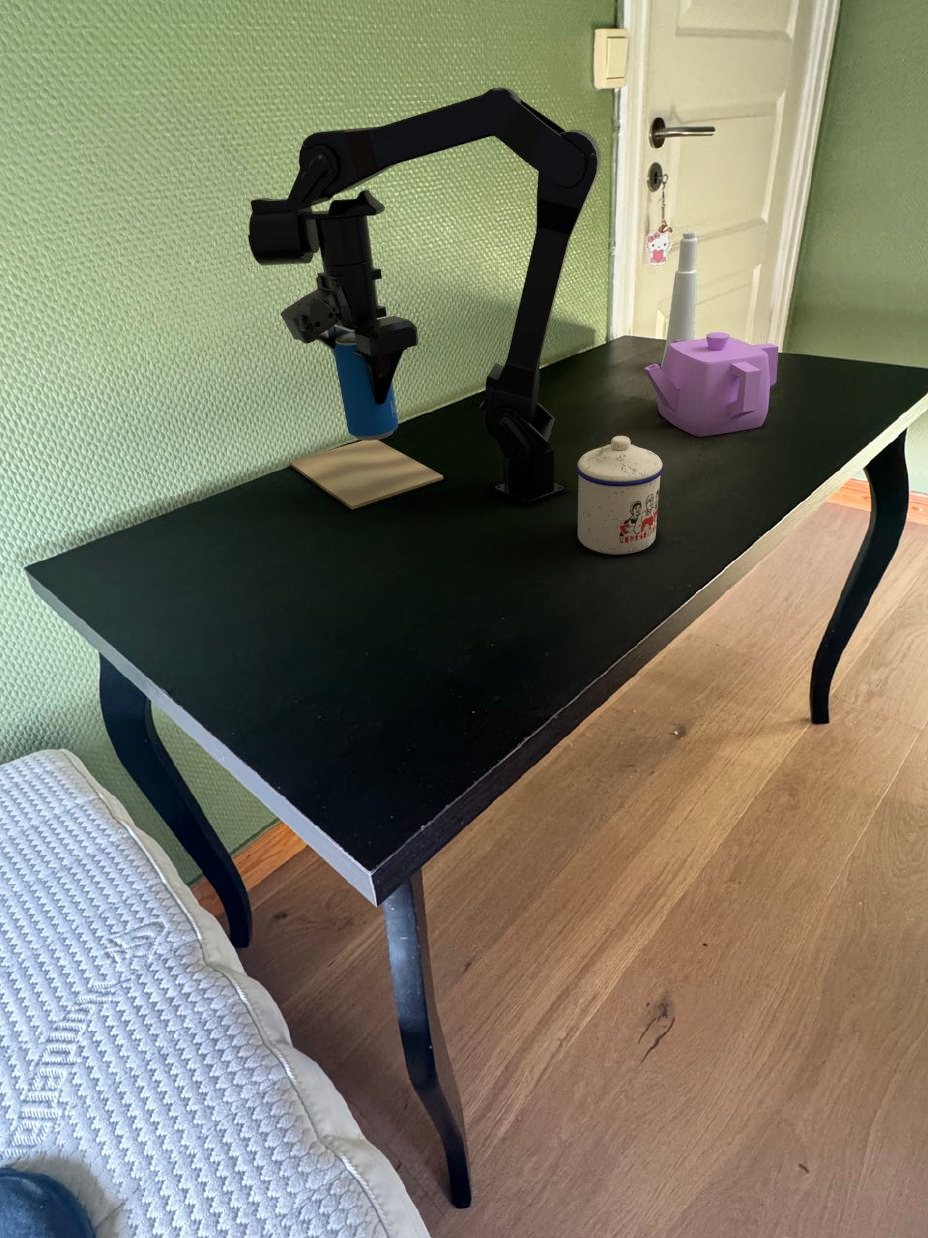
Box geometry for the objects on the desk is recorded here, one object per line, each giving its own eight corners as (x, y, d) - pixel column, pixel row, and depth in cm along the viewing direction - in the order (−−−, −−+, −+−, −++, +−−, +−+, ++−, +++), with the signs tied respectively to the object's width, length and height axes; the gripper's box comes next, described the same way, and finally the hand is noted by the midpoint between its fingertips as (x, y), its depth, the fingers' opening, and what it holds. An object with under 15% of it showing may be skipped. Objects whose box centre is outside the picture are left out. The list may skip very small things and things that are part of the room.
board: (443, 479, 103) (443, 475, 103) (351, 509, 97) (351, 506, 97) (373, 440, 117) (373, 437, 117) (289, 465, 111) (288, 461, 111)
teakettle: (753, 444, 106) (766, 353, 99) (635, 430, 113) (640, 344, 106) (778, 406, 118) (792, 322, 111) (670, 395, 125) (676, 317, 118)
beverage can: (391, 442, 94) (376, 343, 88) (342, 443, 96) (324, 345, 89) (405, 424, 100) (391, 328, 93) (358, 424, 101) (342, 331, 94)
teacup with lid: (629, 565, 81) (635, 461, 74) (559, 542, 86) (559, 443, 80) (685, 523, 88) (695, 424, 81) (617, 504, 93) (622, 410, 87)
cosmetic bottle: (701, 365, 138) (716, 230, 125) (682, 374, 134) (695, 235, 122) (673, 360, 141) (684, 228, 129) (653, 368, 138) (663, 233, 126)
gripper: (250, 265, 90) (278, 396, 98) (318, 282, 76) (343, 432, 85) (335, 250, 94) (354, 377, 103) (413, 264, 81) (427, 408, 90)
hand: (367, 397), depth 95 cm, fingers closed on beverage can, 6 cm apart
